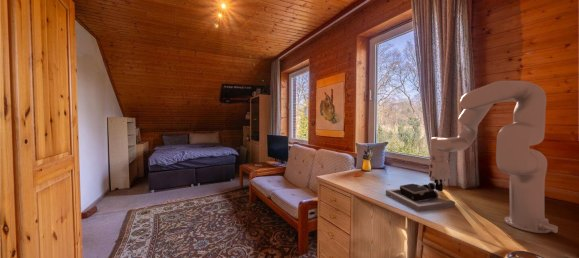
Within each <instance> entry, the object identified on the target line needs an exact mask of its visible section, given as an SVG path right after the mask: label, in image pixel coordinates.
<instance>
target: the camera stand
mask: <svg viewBox="0 0 579 258" xmlns="http://www.w3.org/2000/svg"><path fill="white" fill-rule="evenodd" d="M385 194H386V195H387V194H388V195H387V196H389V195H390V196H392V197H393V198H392V197H391V198H392V199H394V198H395V200H396V199H397V200H396V201H398V200H399V201H398V202H400V203H402V204H404V205H406V206H407V205H408V207H409V206H410V209H413V210H415V211H416V212H427V211H432V210H441V209H448V208H453V207H454V208H455V207H456V201H454V200H444V201H436V202H428V203H423V204H420V203H418V202H414V201H412V200H410V199H408V198H406V197H404V196H402V195H401V192H400V188H393V189H385ZM390 196H389V197H390Z"/></svg>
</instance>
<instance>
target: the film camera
mask: <svg viewBox="0 0 579 258" xmlns="http://www.w3.org/2000/svg"><path fill="white" fill-rule="evenodd" d="M399 189H400V192H401V194H400V195H401V196H402V195H403V197H405V198H407V199H409V200H411V201H413V202H415V203H420V202H421V203H422V202H426V201H431V199H436V198H439V193H438V192H437V190H436V183H434V182H429V183H428V184H426V183H425V184H422V185H421V184H415V183H409V184H402V185H400V186H399Z"/></svg>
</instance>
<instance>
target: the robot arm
mask: <svg viewBox="0 0 579 258" xmlns="http://www.w3.org/2000/svg"><path fill="white" fill-rule="evenodd" d="M502 102H515V103H516V104H515V107H514V110H513V118H512V123H508V124H505V125H504V126H502V127H501V128H500V129H499V131H498V133H497V135H496V146H495V147H496V150H495V151H496V152H495V163H496V165H497V167H498V170H500V171H501V172H503V173H504V174H506V175H509V215H508V216H505V217H504V222H505V223H506V224H507V225H509V226H511V227H513V228H516V229H519V230H522V231H525V232H529V233H538V234H549V233H551V232H552V233H555V234H557V233H558V231H559V226H557V225H554V224H551V223H550V222H549V219H548V218H546V217H545V214H546V213H545V187H546V186H545V185H546V183H545V182H546V181H545V180H546V175H547V170H548V159H547V158H546V156H545V155H544V154H543V153H542V152H540V151H539V150H537V149H533V148H530V147H532V146H536V145H539V144H540V143H543V141H544V139H545V136H546V135H545V133H546V108H547V95H546V92H545V90H544V89H543V88H542V87H541V86H539V85H538V84H536V83H533V82H530V81H525V80H498V81H493V82H491V83H488V84H486V85H483V86H481V87H478V88H475V89H473V90H471V91H468V92H466V93H464V94H463V95H461V98H460V100H459V105H460V107H461V108H462V111H461V113H460V115H458V116H459V117H458V118H457V121H458V122H459V123H460V124H461V125H462V129H461V130H460V132H459V134H458V135H457V136H454V137H453V136H452V137H445V136H444V137H443V136H433V137H431V138H430V157H429V160H430V161H429V166H428V177H429V181H431V182H433V183H434V184H435V185H436V189H435V191H438V192H443V191H444V184H445V181H448V180H449V179H450V178H451V169H450V163H449V161H448V155H447V154H448V153H453V152H460V151H464V150H467V149H469V147H470V146H471V145H472V143H473V142H474V140H475V139H476V137H477V136H478V132H479V130H478V127H479V124H480V123H481V122H482V120H483V119H484V117H485V116H487V113H488V112H489V111H490V109H491V108H492V107H493V106H494V104H496V103H502Z"/></svg>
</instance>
